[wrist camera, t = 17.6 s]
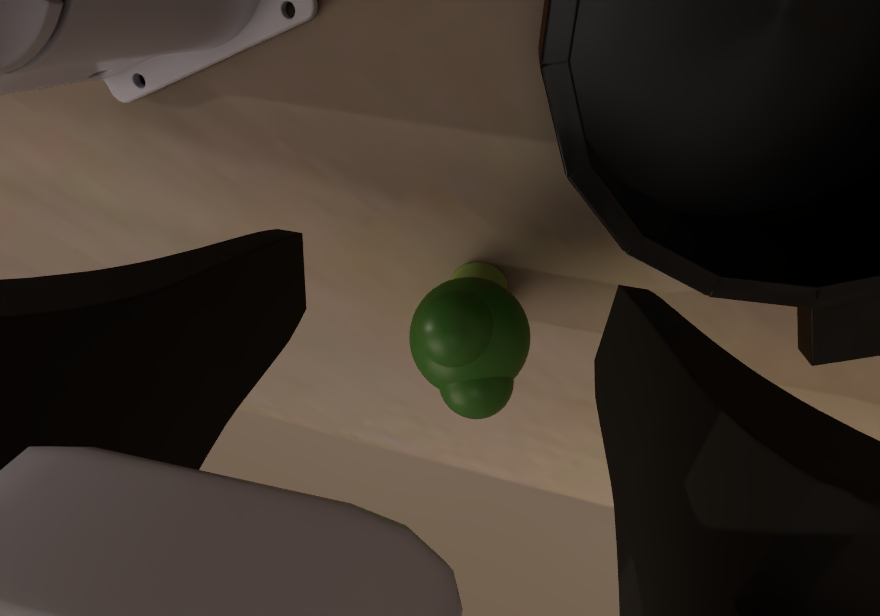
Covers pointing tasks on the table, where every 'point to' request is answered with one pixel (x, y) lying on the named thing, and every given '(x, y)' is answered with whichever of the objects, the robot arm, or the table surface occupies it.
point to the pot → (732, 148)
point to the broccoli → (471, 340)
